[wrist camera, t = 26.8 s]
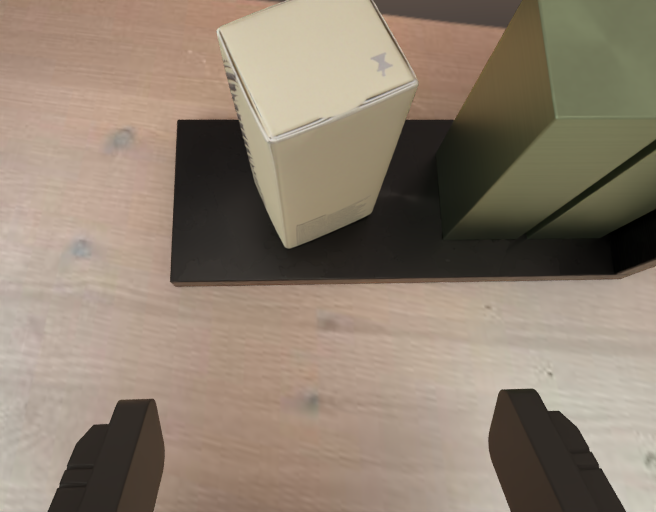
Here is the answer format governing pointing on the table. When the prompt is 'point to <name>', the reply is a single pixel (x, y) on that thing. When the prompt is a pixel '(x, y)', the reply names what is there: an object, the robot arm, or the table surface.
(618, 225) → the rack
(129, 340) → the table surface
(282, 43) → the box
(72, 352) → the table surface
